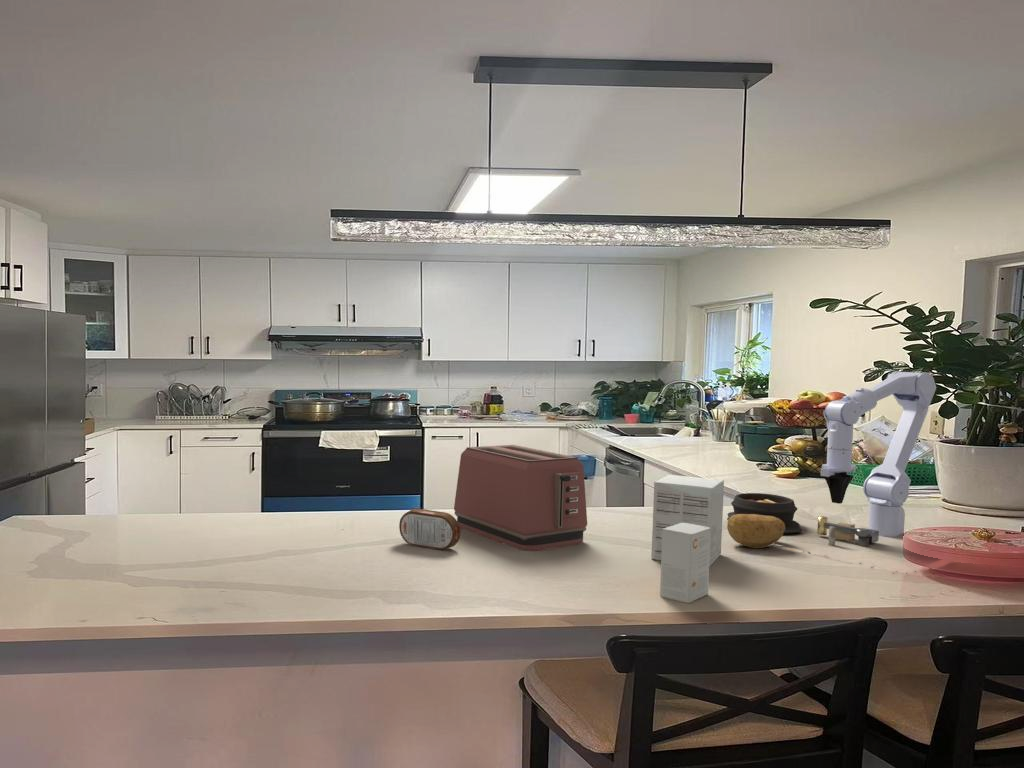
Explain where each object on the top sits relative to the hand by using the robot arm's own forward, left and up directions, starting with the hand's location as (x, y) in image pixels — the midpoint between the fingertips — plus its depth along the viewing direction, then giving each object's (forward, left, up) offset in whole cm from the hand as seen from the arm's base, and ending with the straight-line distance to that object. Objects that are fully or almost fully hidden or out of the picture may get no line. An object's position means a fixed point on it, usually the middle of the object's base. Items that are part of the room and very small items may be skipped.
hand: (837, 502), depth 198 cm
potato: (+22, -9, -10) cm, 26 cm away
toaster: (+61, -51, -10) cm, 80 cm away
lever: (0, +3, -8) cm, 9 cm away
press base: (+2, +4, -10) cm, 11 cm away
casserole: (+2, -19, -10) cm, 22 cm away
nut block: (-1, +2, -9) cm, 9 cm away
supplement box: (+44, -13, -10) cm, 47 cm away
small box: (+68, +4, -10) cm, 69 cm away
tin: (+87, -53, -10) cm, 102 cm away
